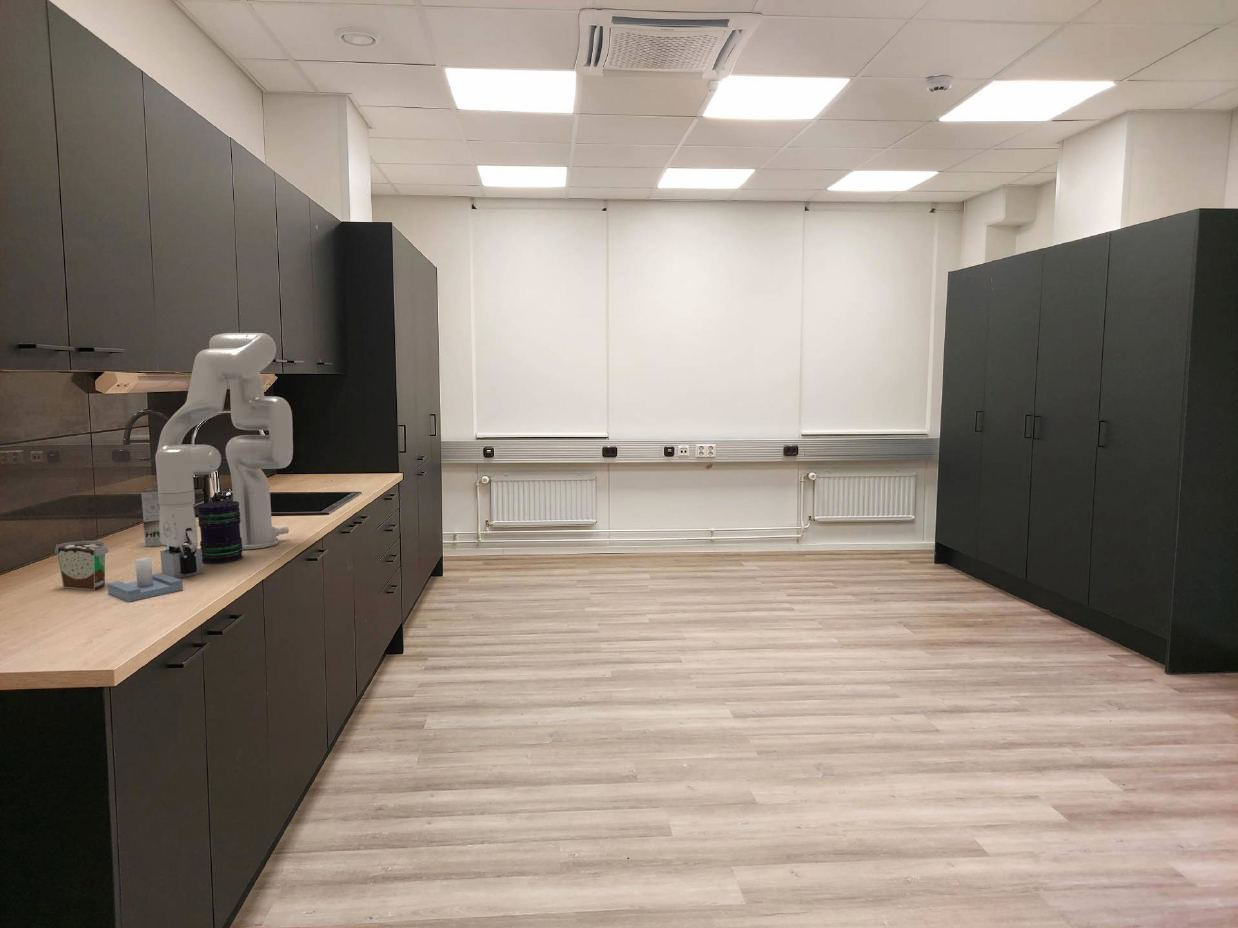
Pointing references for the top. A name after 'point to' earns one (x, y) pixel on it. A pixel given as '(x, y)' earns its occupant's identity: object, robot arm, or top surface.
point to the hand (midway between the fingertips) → (182, 570)
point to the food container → (82, 564)
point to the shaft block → (145, 583)
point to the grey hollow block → (178, 563)
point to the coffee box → (151, 517)
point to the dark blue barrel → (220, 532)
